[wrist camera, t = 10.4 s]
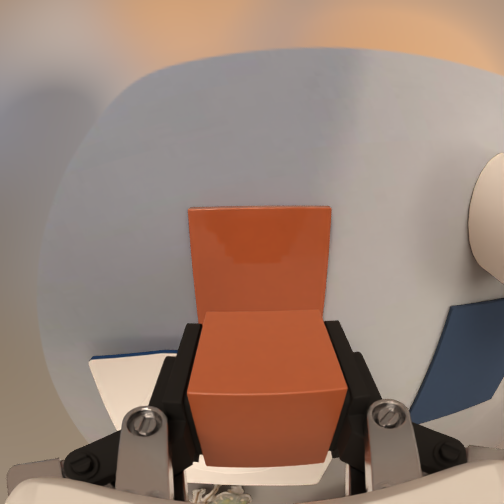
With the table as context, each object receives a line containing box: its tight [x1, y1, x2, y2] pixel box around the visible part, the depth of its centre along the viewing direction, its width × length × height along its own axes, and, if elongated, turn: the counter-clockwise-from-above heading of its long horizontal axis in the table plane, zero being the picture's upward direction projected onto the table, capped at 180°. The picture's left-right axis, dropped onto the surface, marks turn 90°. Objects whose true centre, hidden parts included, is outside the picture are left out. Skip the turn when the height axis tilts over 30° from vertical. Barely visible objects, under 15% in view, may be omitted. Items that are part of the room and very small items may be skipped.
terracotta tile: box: [188, 206, 331, 326], centre depth 18 cm, size 8×8×1 cm
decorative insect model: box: [189, 484, 252, 504], centre depth 27 cm, size 9×11×5 cm
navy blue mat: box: [409, 298, 504, 424], centre depth 22 cm, size 15×14×1 cm
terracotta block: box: [187, 309, 348, 468], centre depth 9 cm, size 4×4×4 cm
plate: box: [89, 350, 332, 485], centre depth 22 cm, size 20×20×3 cm
